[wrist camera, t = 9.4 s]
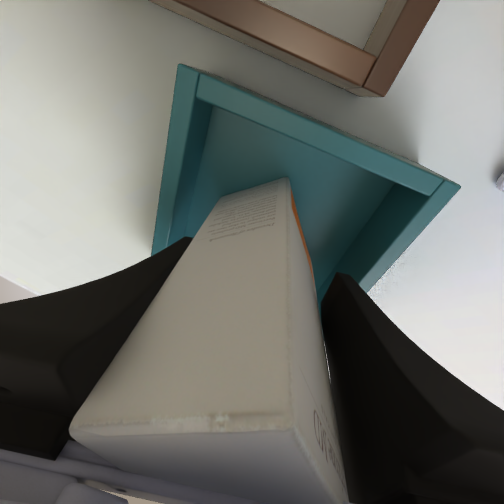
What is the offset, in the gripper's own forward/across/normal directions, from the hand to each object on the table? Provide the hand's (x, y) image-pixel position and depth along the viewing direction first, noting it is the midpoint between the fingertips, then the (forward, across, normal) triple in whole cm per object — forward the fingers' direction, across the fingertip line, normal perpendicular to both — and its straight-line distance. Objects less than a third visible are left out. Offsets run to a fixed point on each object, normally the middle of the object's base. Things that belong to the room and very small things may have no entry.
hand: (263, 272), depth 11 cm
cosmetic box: (+5, 0, 0) cm, 5 cm away
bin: (+5, 0, 0) cm, 5 cm away
